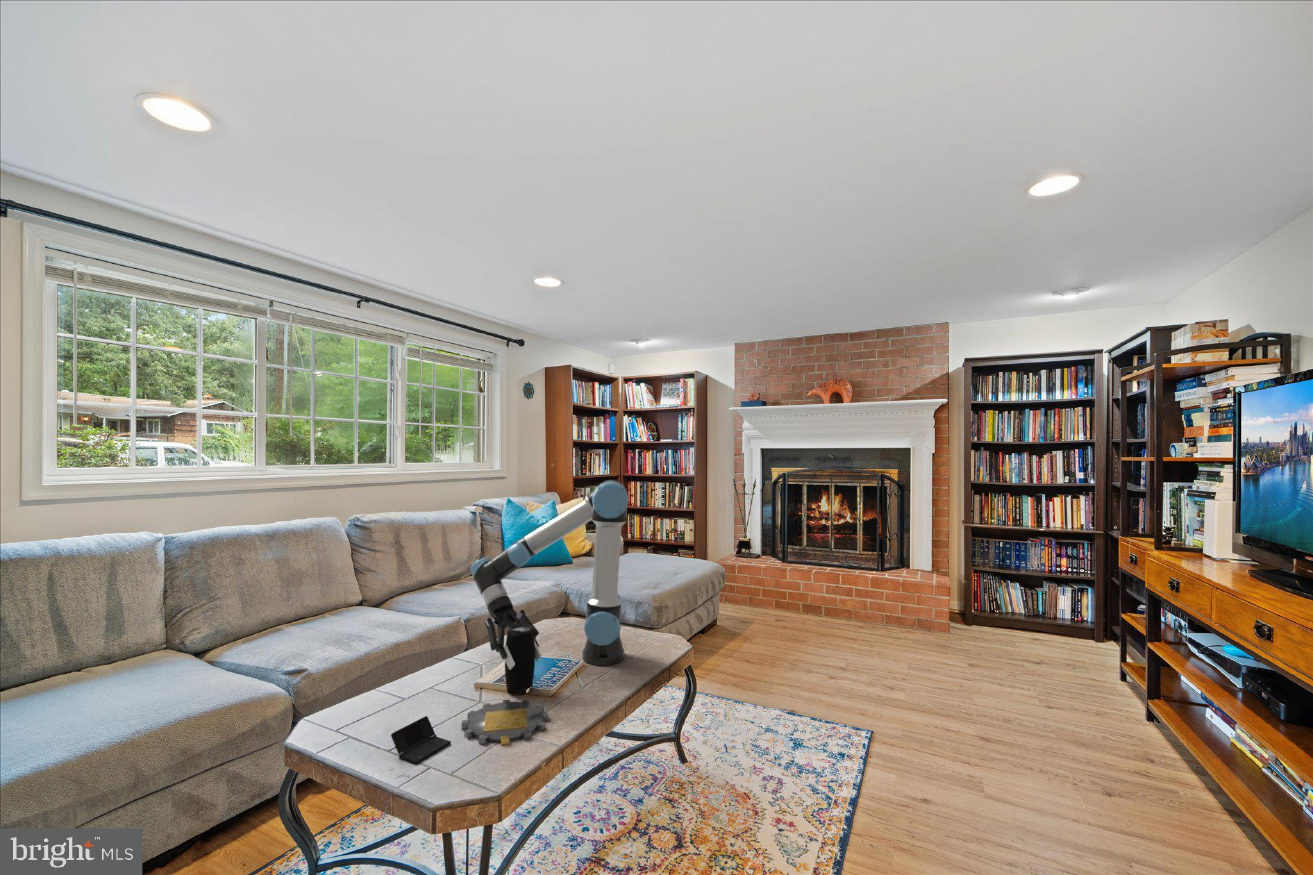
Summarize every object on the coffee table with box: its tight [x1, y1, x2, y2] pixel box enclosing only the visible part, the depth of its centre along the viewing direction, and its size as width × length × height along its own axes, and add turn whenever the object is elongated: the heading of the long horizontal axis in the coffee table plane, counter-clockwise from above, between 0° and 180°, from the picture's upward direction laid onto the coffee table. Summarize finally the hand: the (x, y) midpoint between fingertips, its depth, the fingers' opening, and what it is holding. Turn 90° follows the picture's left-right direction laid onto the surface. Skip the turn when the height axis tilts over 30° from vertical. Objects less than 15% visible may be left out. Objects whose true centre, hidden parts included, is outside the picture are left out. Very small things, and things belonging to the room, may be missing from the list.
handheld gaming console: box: [390, 715, 452, 765], centre depth 142 cm, size 12×7×10 cm
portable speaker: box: [504, 623, 536, 696], centre depth 178 cm, size 9×9×20 cm
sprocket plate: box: [461, 699, 550, 746], centre depth 156 cm, size 23×23×2 cm
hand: (526, 662), depth 175 cm, fingers closed on portable speaker, 9 cm apart
